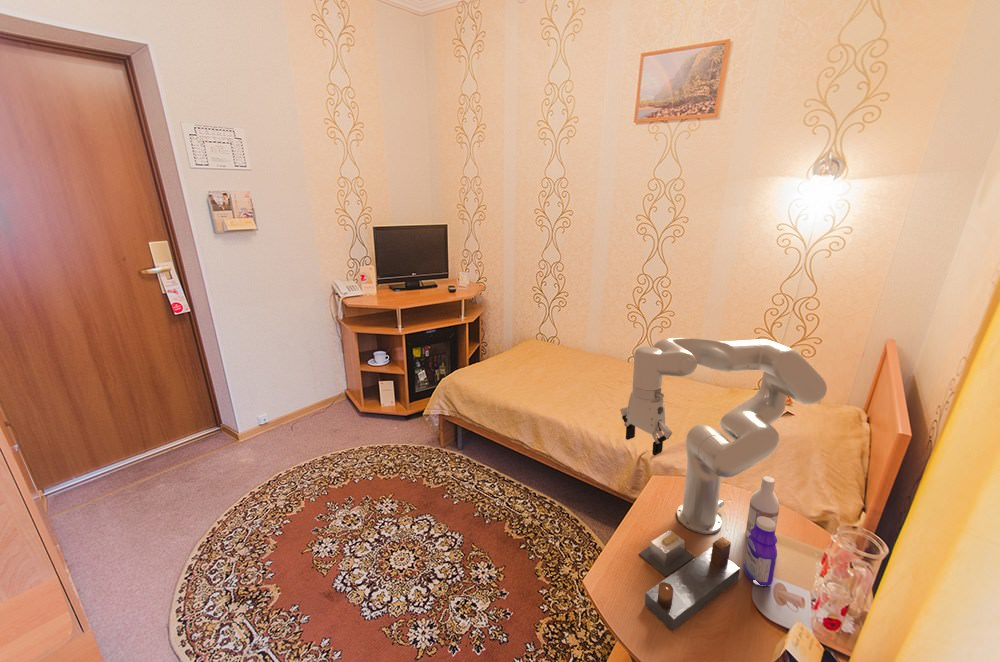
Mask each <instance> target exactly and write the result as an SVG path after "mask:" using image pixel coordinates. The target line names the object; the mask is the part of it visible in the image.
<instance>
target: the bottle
mask: <svg viewBox="0 0 1000 662" xmlns="http://www.w3.org/2000/svg"><path fill="white" fill-rule="evenodd" d="M775 526H776V527H777V525H775V522H774V521H773V520H771V519H770V518H767V517H764V516H760V517H757V520H756V525H755V527H754V528H753V529H752V530H751V535H749V537H747V543H746V549H745V556H744V561H743V568H744V569H743V570H744V573H745V574H746V576H747V578H748V580H749V581H750V582H751V583H753V580H756V581H757V582H758V583H759V584H760V585H766V586H765V587H770V586H771V585H772V584H773V581H774V576H775V575H774V574H775V568H776V562H777V556H778V550H777V545H776V544H777V542H778V538H777V535H776V531H775ZM769 585H770V586H769Z"/></svg>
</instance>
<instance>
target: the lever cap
mask: <svg viewBox="0 0 1000 662" xmlns="http://www.w3.org/2000/svg"><path fill="white" fill-rule="evenodd" d="M685 543H686V540H684V539H683V538H682V537H680V536H679V535H678V534H676V533H675V532H673V531H672V530H670V529H668V530H667V531H665V532H664V533H662V534H661V535H659V536H657V537H655V539H653V540H651V541H650V545H649V547H650V555H651V556H652V557H653V558H654V559H656V560H657V561H658V562H659V563H660V564H662V565H663V566H664V567H666V566H667V565H669V564H670V563H672V562H673V561H674V560H676V559H677V558H679V557H680V556H682V555H683V554H684V548H685Z"/></svg>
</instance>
